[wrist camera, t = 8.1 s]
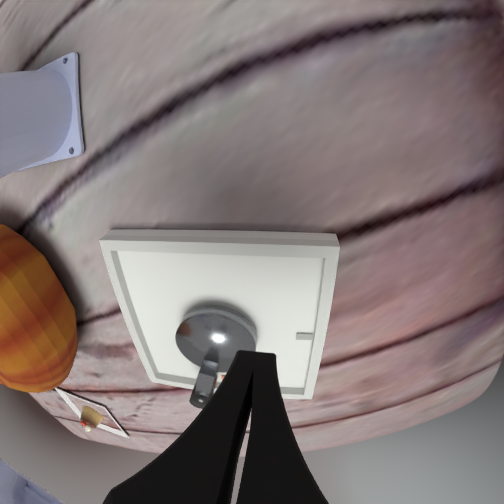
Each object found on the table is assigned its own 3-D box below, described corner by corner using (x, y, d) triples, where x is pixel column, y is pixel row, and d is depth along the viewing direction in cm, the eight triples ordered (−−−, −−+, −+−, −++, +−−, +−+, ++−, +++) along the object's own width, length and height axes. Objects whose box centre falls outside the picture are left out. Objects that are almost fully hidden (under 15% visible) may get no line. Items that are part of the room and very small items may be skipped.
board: (156, 368, 27) (151, 381, 26) (111, 229, 20) (98, 240, 18) (311, 384, 25) (311, 399, 24) (335, 233, 18) (339, 246, 16)
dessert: (56, 383, 38) (45, 401, 33) (107, 402, 36) (96, 425, 32) (84, 416, 43) (75, 434, 39) (132, 434, 42) (124, 454, 38)
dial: (184, 294, 20) (169, 324, 17) (267, 318, 20) (262, 351, 17) (176, 370, 24) (165, 397, 22) (237, 388, 25) (232, 416, 22)
